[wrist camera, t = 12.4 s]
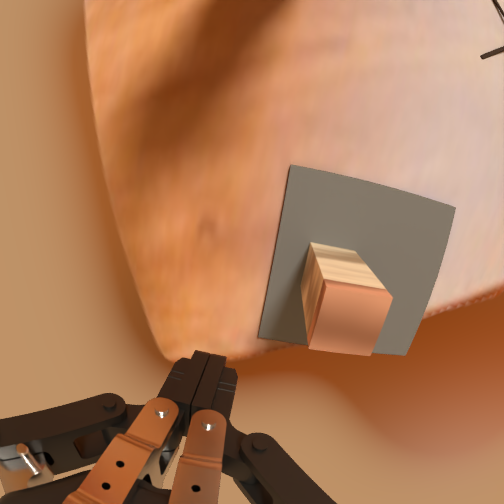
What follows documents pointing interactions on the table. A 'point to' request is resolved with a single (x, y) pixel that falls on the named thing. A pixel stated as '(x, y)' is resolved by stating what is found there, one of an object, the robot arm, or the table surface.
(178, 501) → the robot arm
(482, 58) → the sushi plate
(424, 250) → the slate mat
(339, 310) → the birch block
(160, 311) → the table surface
